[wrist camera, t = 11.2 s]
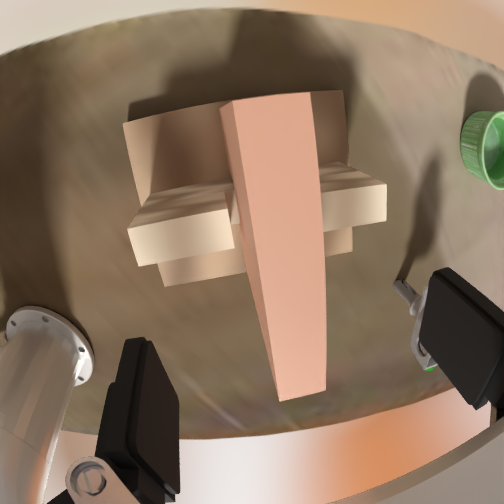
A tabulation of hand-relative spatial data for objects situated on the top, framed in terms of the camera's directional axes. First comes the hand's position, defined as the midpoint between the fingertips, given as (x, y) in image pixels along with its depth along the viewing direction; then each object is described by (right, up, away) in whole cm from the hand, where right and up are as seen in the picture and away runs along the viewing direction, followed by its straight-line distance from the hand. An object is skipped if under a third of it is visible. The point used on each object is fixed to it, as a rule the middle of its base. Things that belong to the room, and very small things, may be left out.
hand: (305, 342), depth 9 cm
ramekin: (+25, +16, +18) cm, 35 cm away
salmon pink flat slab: (-2, +8, +16) cm, 18 cm away
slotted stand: (-2, +9, +17) cm, 19 cm away
